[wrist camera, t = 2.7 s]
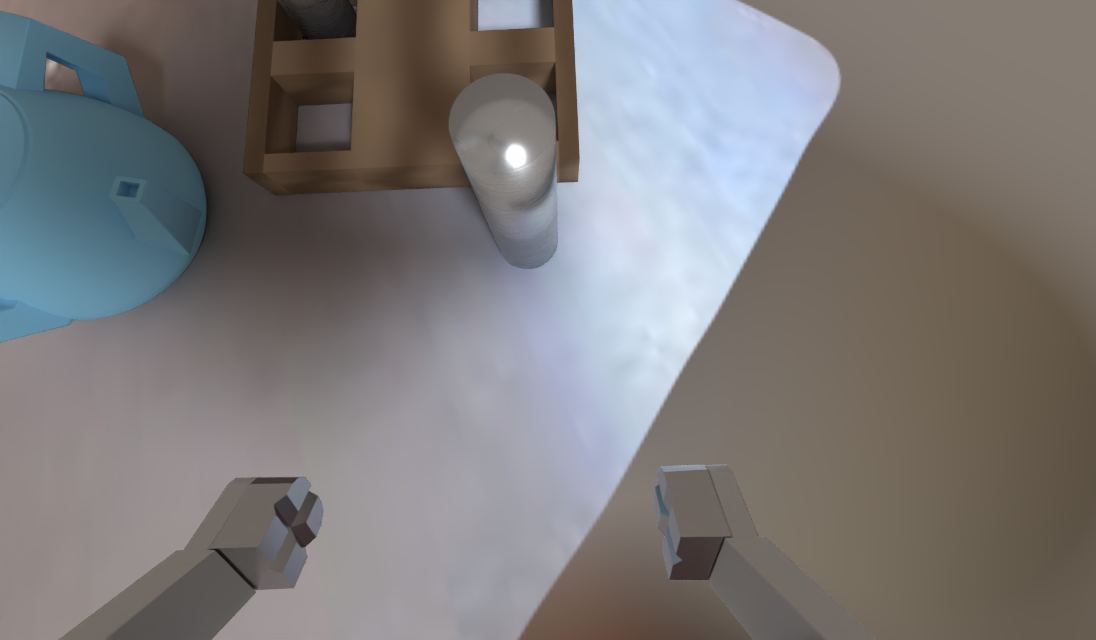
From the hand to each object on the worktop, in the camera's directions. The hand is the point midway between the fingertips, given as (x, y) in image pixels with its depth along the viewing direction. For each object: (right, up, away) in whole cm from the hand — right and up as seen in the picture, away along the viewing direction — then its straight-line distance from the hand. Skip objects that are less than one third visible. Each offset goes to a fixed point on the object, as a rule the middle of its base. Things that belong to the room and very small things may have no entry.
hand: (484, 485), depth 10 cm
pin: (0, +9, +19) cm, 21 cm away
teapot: (-28, +10, +20) cm, 36 cm away
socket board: (-7, +21, +21) cm, 30 cm away
